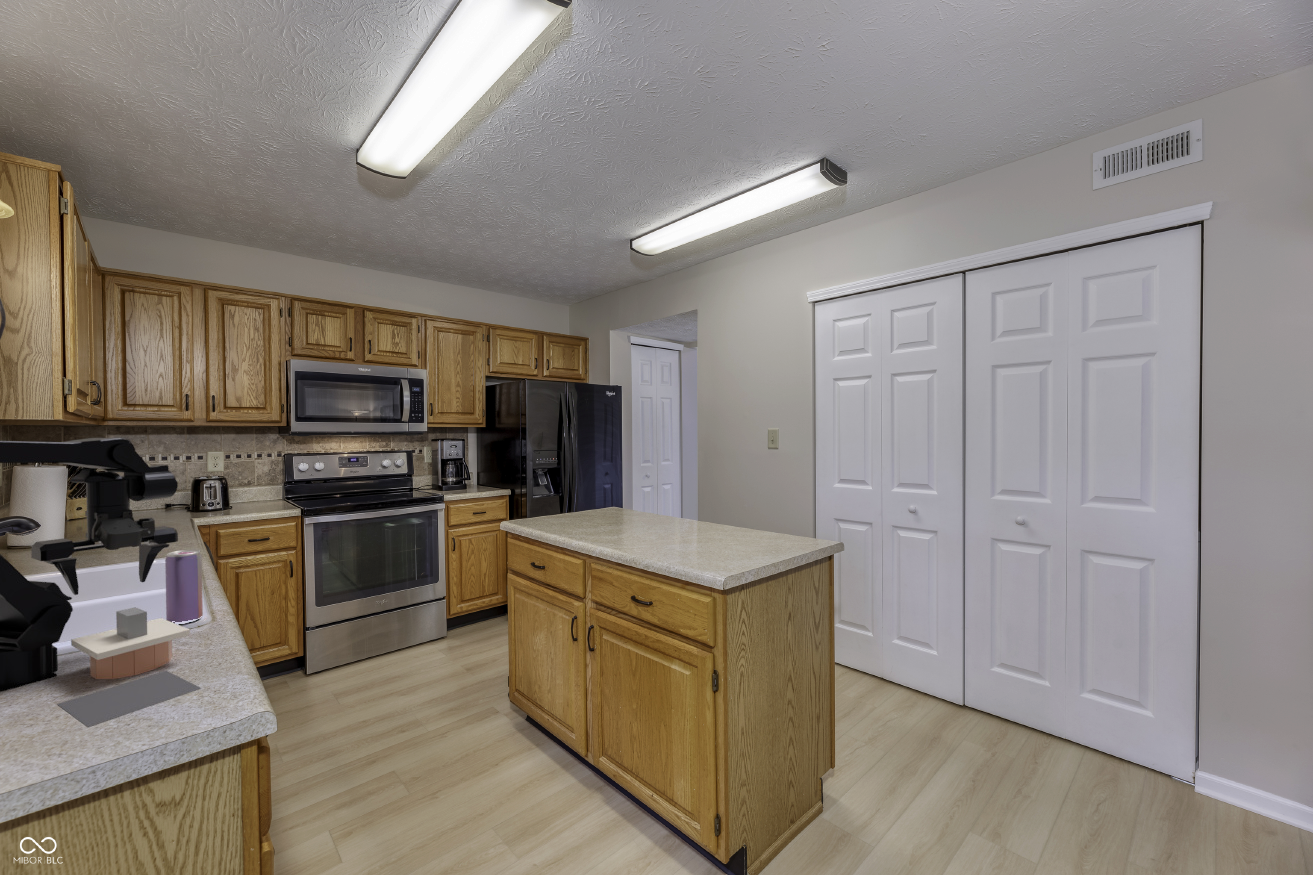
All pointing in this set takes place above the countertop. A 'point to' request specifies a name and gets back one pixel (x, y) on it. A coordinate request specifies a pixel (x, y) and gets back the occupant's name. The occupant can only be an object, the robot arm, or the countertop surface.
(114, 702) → the mat
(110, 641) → the cover sheet
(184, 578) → the beverage can
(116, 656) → the bowl
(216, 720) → the countertop surface
